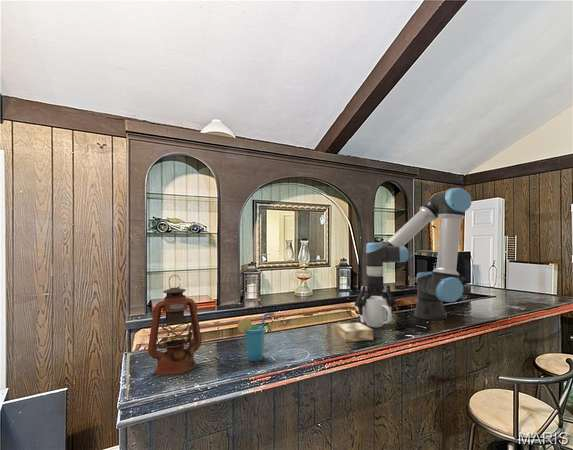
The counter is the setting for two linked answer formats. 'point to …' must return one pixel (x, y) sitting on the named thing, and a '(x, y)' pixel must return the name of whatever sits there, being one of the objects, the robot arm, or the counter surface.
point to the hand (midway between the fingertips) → (376, 321)
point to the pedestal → (353, 332)
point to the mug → (376, 311)
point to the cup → (254, 337)
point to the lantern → (176, 355)
